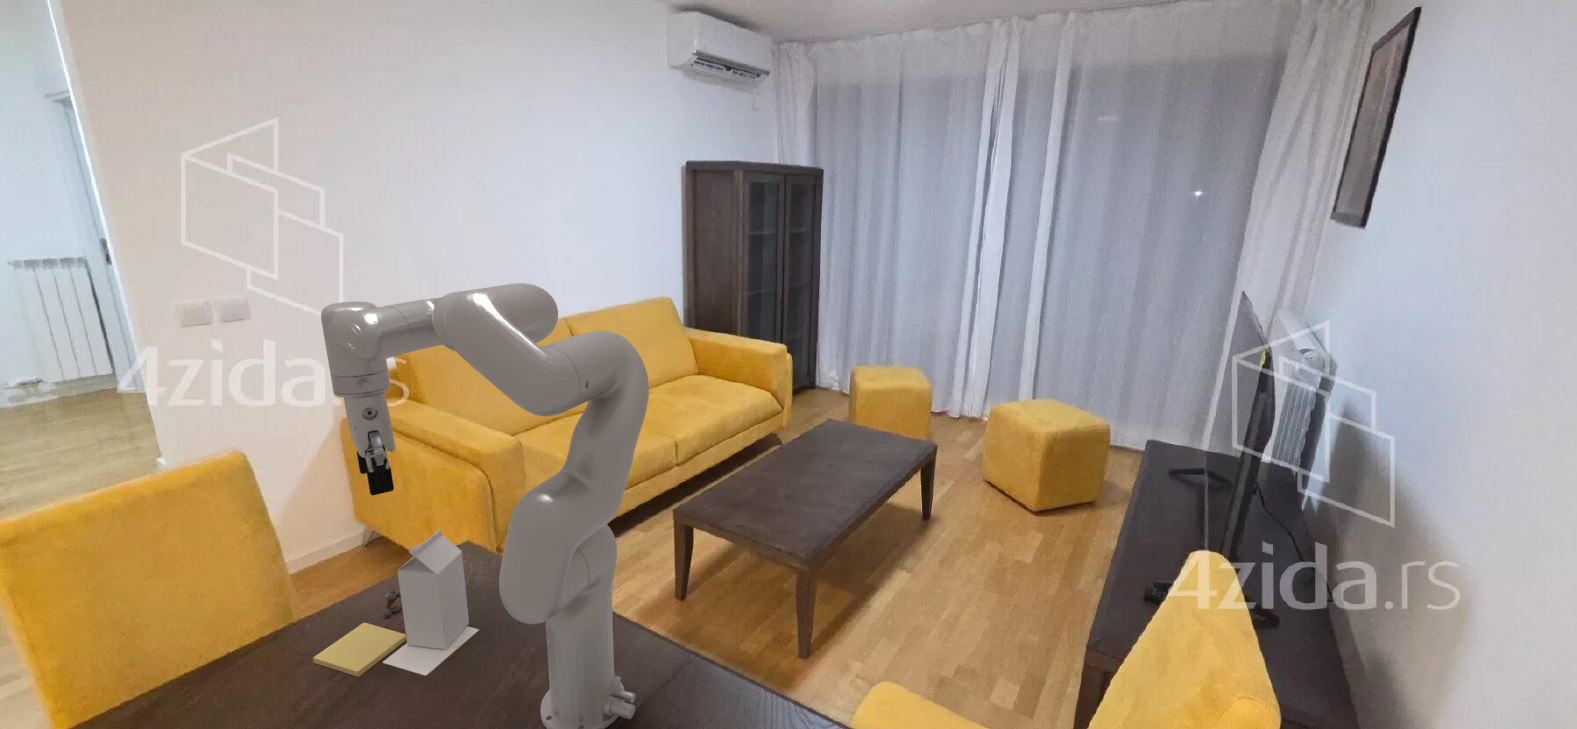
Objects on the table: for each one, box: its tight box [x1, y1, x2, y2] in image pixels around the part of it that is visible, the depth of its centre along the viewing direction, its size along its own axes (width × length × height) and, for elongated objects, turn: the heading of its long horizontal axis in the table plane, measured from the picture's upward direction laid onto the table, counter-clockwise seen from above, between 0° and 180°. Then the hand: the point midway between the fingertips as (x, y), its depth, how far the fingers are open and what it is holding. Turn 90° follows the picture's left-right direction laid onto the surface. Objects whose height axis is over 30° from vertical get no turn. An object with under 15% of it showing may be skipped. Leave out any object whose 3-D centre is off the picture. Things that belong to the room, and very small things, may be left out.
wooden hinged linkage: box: [383, 590, 403, 618], centre depth 122 cm, size 2×8×4 cm, turn 161°
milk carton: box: [397, 528, 470, 649], centre depth 113 cm, size 7×7×19 cm
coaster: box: [312, 622, 407, 678], centre depth 111 cm, size 10×10×1 cm
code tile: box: [382, 625, 480, 677], centre depth 113 cm, size 9×12×1 cm
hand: (376, 481), depth 106 cm, fingers open, 9 cm apart
